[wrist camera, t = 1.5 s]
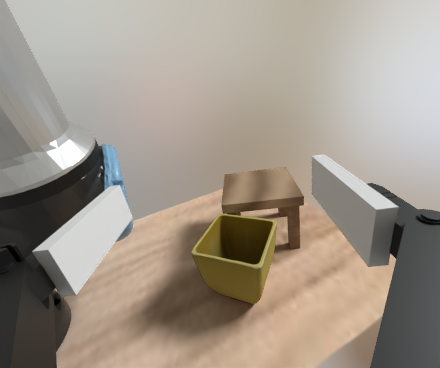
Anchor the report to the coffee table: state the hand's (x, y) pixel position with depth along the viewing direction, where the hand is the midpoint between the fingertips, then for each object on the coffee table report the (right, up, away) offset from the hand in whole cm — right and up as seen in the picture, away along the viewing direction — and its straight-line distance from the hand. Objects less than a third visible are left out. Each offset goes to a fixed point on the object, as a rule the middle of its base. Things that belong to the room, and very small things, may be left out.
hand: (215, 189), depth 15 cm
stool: (+8, -9, +27) cm, 29 cm away
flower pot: (+4, -14, +16) cm, 22 cm away
